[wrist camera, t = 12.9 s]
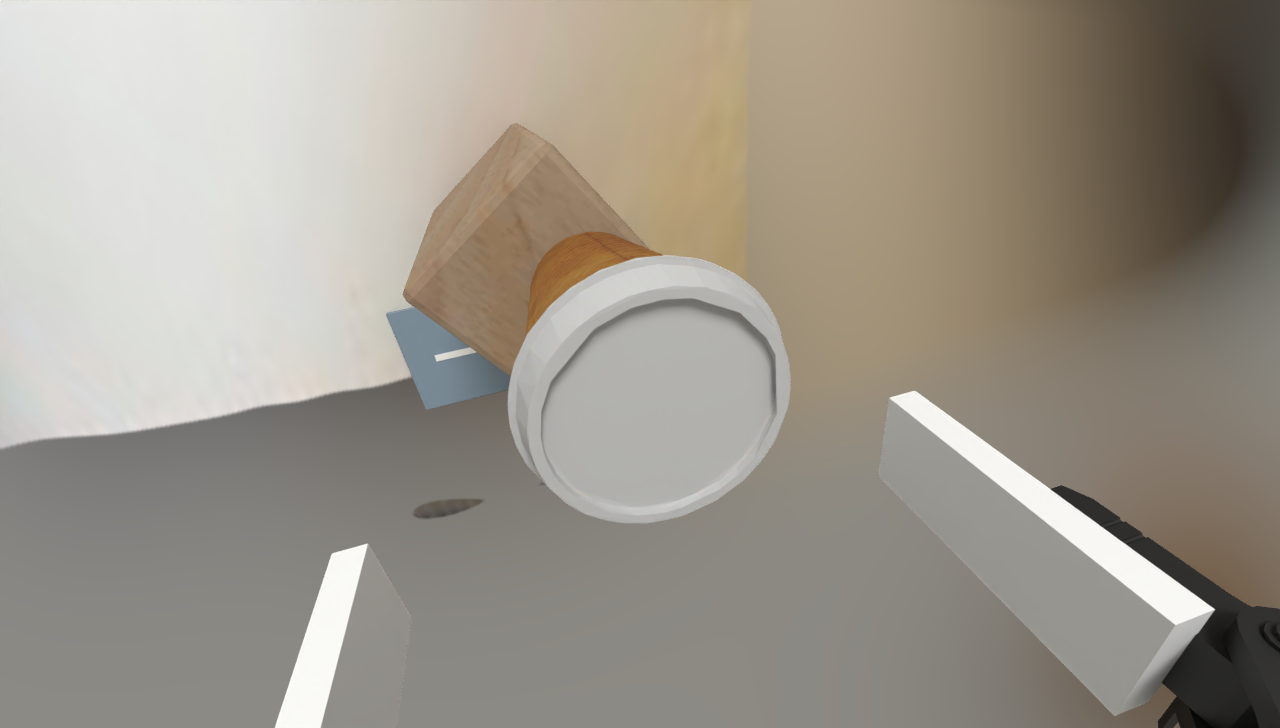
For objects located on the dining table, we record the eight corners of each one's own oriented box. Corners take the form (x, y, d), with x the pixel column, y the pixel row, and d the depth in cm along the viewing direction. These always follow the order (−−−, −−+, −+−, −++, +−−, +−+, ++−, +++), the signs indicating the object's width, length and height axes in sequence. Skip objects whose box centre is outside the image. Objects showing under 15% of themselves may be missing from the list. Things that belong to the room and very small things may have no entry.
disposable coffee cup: (643, 390, 30) (732, 543, 20) (475, 355, 26) (474, 522, 16) (708, 231, 27) (854, 315, 16) (526, 166, 23) (567, 221, 13)
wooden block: (525, 295, 46) (554, 412, 29) (429, 214, 41) (396, 298, 24) (604, 213, 45) (684, 285, 28) (515, 119, 40) (545, 136, 23)
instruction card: (426, 408, 49) (426, 410, 49) (386, 313, 44) (385, 315, 44) (609, 363, 52) (610, 365, 51) (592, 269, 47) (593, 270, 46)
